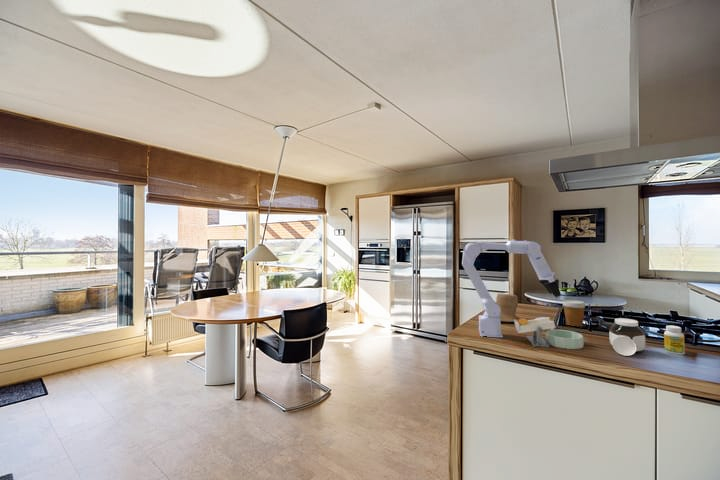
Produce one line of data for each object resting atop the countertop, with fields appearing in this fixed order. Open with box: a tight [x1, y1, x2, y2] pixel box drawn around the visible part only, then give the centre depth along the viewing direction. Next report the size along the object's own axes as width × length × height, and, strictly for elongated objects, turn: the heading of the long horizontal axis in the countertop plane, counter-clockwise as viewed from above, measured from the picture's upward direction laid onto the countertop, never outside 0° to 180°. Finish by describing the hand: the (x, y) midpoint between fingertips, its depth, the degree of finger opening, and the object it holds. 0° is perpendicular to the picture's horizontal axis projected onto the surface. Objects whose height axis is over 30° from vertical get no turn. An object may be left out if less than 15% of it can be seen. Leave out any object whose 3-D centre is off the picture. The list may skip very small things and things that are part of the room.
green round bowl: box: [545, 329, 585, 350], centre depth 128 cm, size 13×13×4 cm
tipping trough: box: [513, 316, 556, 334], centre depth 135 cm, size 14×15×4 cm
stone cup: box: [495, 293, 521, 323], centre depth 165 cm, size 15×12×15 cm
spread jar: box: [608, 317, 646, 357], centre depth 117 cm, size 12×11×12 cm
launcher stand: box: [526, 327, 551, 348], centre depth 131 cm, size 6×12×8 cm, turn 163°
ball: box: [518, 317, 528, 326], centre depth 133 cm, size 4×4×4 cm
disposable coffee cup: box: [561, 299, 586, 327], centre depth 152 cm, size 10×10×12 cm
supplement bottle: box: [663, 324, 686, 356], centre depth 115 cm, size 5×5×10 cm
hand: (555, 294), depth 136 cm, fingers open, 7 cm apart
